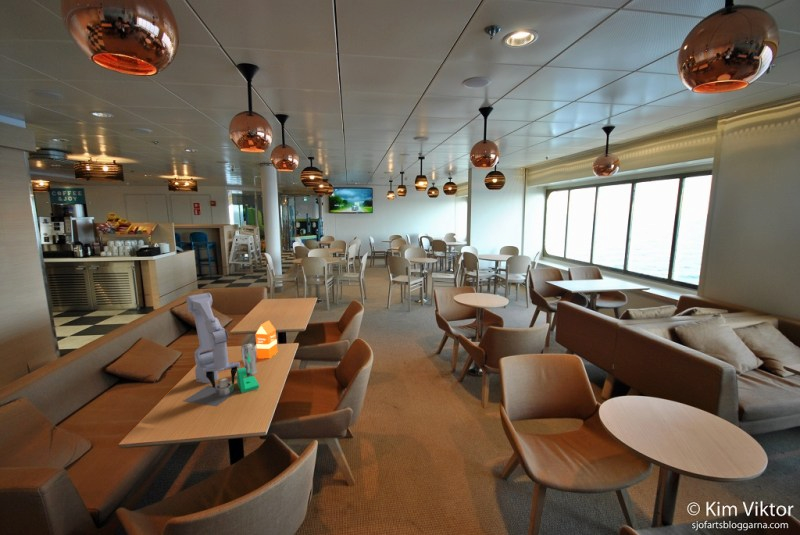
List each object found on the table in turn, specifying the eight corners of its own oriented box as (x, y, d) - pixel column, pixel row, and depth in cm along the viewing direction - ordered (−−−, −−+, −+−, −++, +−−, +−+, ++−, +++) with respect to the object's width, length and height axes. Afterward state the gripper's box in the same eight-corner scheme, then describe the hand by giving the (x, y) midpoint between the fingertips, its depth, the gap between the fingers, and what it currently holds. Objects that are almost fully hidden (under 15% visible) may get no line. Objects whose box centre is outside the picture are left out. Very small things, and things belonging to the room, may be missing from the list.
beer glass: (243, 377, 167) (241, 349, 165) (243, 372, 173) (240, 344, 171) (258, 374, 170) (256, 346, 168) (257, 369, 176) (255, 342, 174)
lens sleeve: (211, 395, 148) (211, 388, 148) (224, 387, 155) (223, 380, 155) (225, 397, 146) (224, 390, 146) (237, 389, 153) (236, 382, 153)
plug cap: (218, 394, 149) (216, 382, 149) (224, 390, 153) (223, 378, 152) (224, 395, 148) (223, 382, 148) (230, 391, 152) (229, 379, 151)
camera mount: (259, 390, 155) (257, 369, 153) (242, 395, 150) (239, 374, 149) (254, 380, 164) (252, 360, 163) (237, 385, 160) (235, 365, 158)
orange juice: (257, 358, 190) (254, 324, 187) (265, 352, 199) (263, 320, 196) (269, 358, 189) (266, 325, 186) (277, 352, 198) (275, 320, 195)
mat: (182, 403, 145) (182, 401, 145) (208, 387, 158) (208, 385, 158) (216, 408, 140) (216, 406, 140) (240, 391, 153) (240, 389, 153)
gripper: (200, 363, 142) (204, 392, 144) (237, 357, 147) (240, 385, 149) (203, 356, 148) (206, 385, 150) (239, 351, 154) (241, 378, 156)
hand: (223, 384), depth 150 cm, fingers open, 7 cm apart
